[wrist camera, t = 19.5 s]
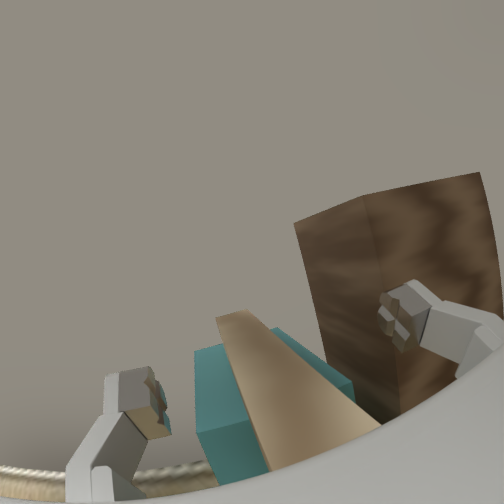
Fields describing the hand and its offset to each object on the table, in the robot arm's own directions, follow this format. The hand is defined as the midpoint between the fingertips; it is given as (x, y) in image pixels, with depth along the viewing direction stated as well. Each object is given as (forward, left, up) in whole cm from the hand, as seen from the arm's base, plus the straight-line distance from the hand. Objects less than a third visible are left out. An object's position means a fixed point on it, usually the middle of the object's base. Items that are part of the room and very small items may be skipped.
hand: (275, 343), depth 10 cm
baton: (0, +6, -5) cm, 8 cm away
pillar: (+14, +12, -22) cm, 28 cm away
